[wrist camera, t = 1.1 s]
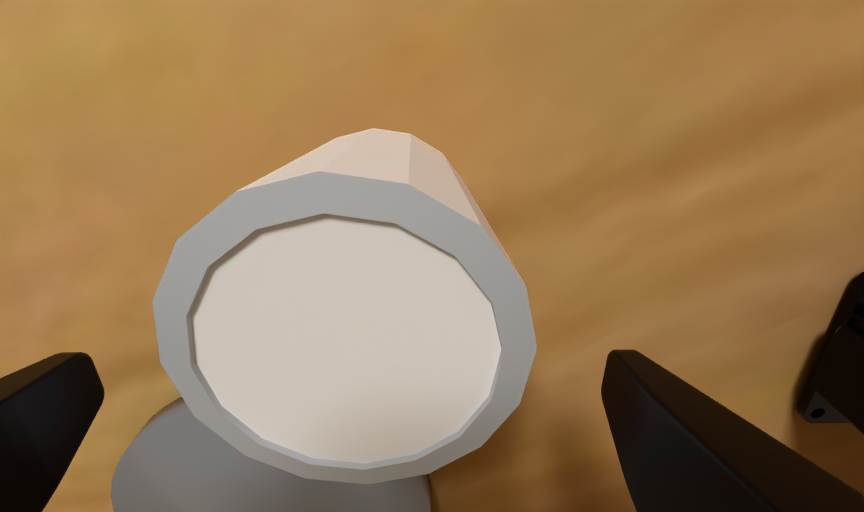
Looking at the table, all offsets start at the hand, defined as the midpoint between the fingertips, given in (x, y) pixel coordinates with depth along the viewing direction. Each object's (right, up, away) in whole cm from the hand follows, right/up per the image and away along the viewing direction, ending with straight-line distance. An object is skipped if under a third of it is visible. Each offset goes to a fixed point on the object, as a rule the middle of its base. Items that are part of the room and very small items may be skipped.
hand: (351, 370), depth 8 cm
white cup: (0, +3, +7) cm, 7 cm away
